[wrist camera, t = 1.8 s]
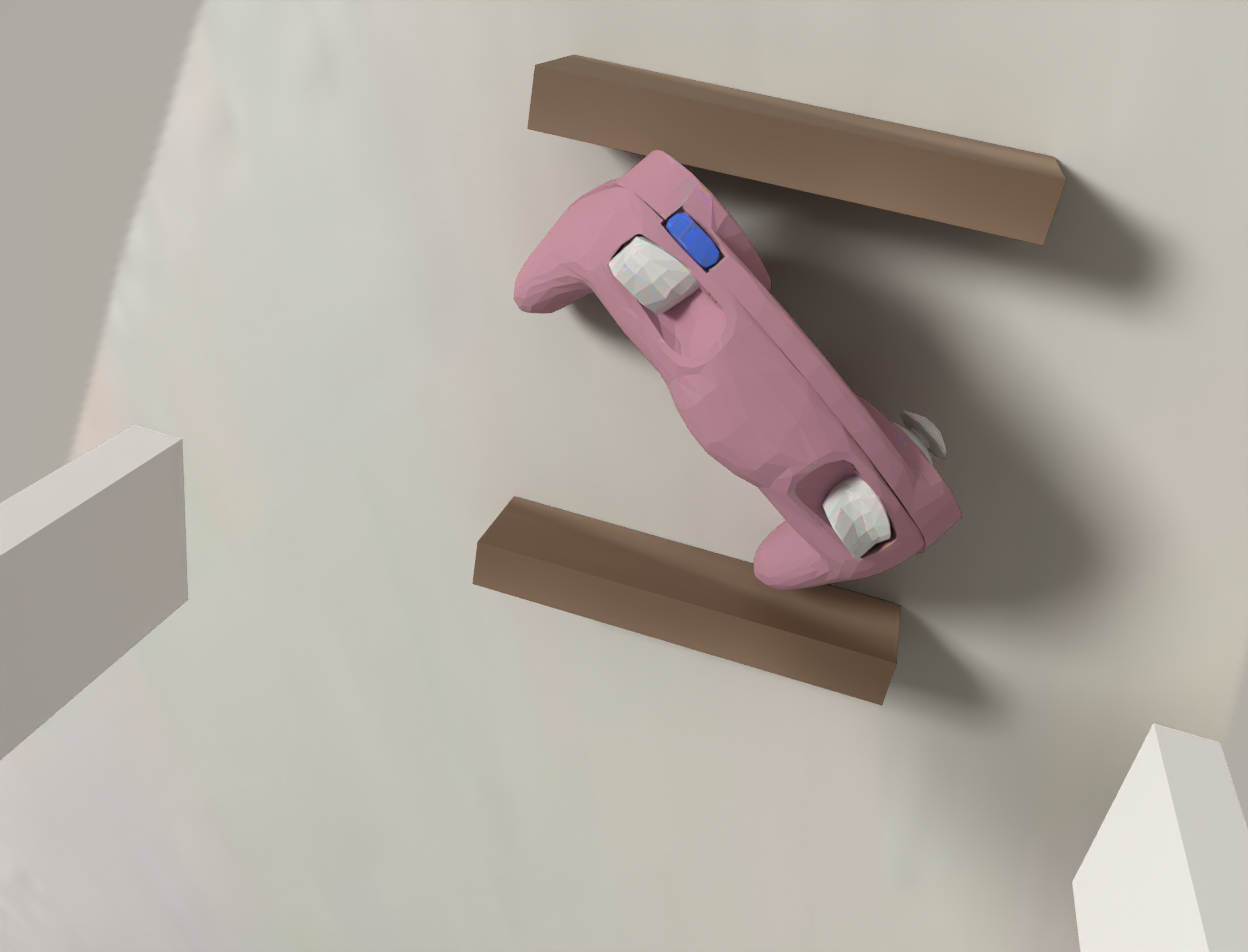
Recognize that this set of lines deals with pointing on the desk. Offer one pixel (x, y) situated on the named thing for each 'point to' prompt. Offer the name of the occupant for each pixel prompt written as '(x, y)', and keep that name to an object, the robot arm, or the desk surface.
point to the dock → (794, 158)
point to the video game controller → (746, 375)
